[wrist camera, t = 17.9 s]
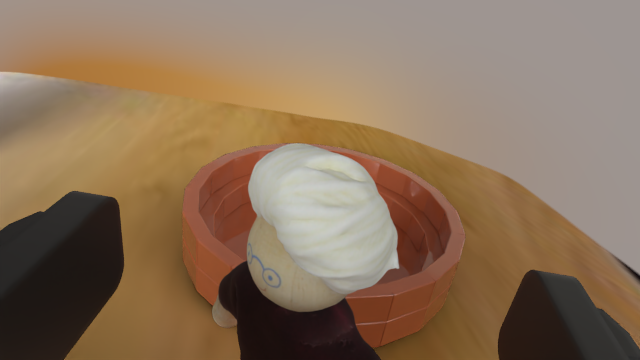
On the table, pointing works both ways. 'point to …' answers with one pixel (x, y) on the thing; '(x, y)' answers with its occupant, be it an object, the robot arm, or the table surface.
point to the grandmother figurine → (307, 257)
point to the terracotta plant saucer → (367, 304)
